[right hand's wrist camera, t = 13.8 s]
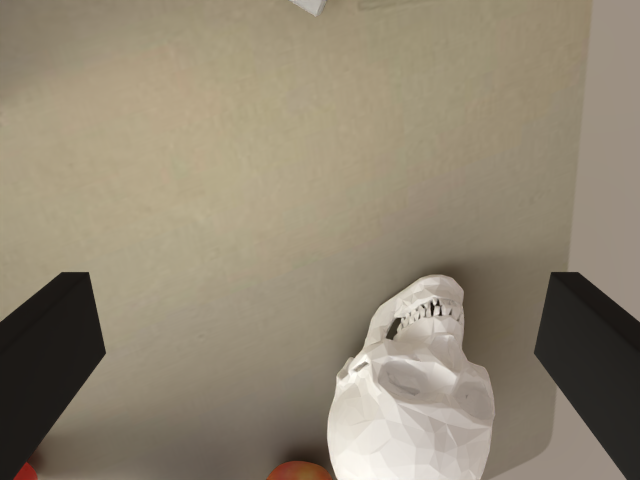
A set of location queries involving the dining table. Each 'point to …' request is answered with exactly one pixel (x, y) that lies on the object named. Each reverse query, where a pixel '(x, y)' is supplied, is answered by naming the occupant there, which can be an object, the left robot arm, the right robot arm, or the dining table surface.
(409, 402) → the skull
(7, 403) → the right robot arm
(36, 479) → the canister
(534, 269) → the dining table surface
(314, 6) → the grey segmented long block
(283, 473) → the apple
